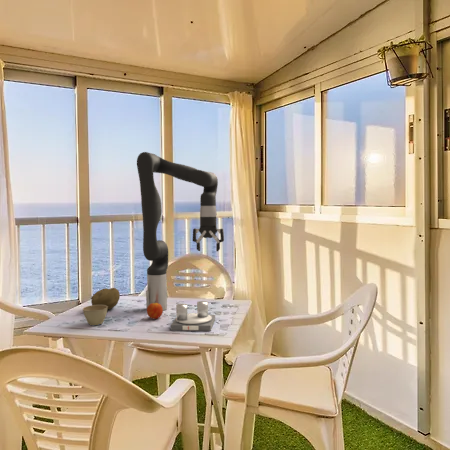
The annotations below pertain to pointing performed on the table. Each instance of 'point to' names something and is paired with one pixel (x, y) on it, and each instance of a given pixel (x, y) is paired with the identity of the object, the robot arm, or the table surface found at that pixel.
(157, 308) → the fruit
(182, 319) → the cylinder
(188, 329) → the scale
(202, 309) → the cylinder
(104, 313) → the flower pot
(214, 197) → the robot arm
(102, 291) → the decorative stone
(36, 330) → the table surface
